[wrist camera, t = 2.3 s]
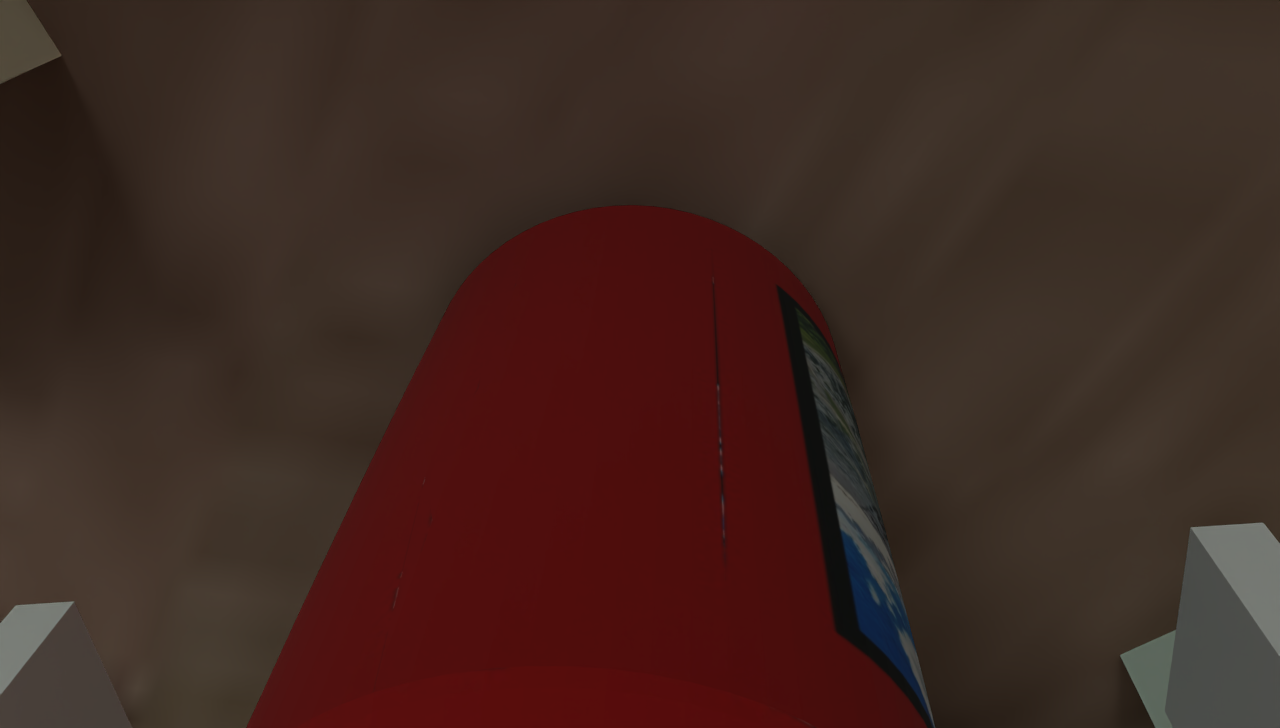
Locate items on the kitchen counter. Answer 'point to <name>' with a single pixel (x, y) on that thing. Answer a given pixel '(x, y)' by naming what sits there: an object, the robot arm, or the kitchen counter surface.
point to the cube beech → (22, 40)
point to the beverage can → (613, 508)
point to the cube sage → (1152, 675)
